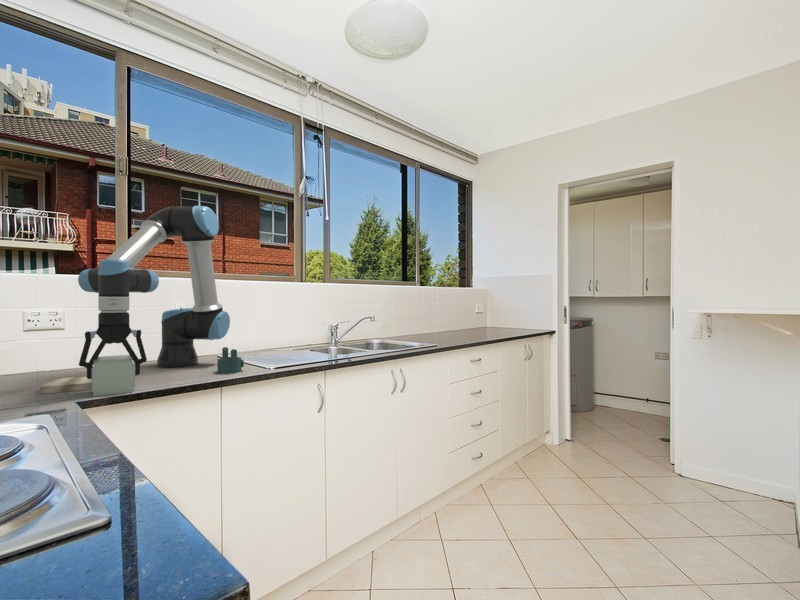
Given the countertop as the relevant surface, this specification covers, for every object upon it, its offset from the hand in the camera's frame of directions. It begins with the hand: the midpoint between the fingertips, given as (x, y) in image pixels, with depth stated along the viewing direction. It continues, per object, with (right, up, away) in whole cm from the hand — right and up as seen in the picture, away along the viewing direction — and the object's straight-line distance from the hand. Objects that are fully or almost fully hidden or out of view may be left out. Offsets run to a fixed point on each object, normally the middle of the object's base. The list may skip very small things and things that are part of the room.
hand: (114, 388), depth 122 cm
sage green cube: (0, -1, 0) cm, 1 cm away
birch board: (-17, -1, +6) cm, 18 cm away
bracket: (+21, -1, +34) cm, 39 cm away
